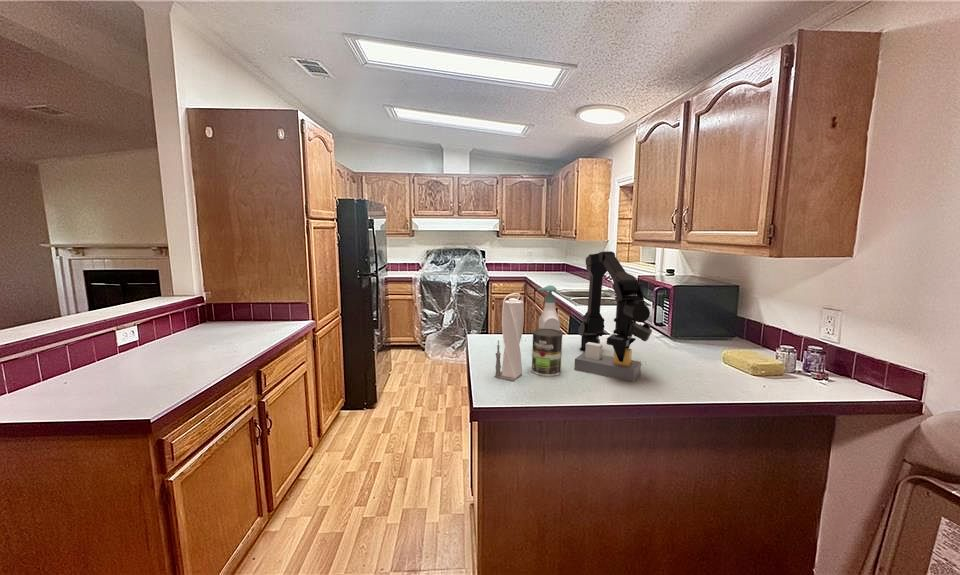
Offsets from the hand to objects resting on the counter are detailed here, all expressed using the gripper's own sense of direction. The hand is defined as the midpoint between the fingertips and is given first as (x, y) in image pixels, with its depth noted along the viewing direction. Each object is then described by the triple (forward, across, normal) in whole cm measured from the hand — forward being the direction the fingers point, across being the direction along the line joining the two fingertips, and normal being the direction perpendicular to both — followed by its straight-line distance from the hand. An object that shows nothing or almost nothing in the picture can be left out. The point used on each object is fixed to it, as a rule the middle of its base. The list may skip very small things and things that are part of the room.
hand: (622, 360), depth 134 cm
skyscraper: (+5, -23, +30) cm, 39 cm away
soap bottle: (+5, +7, +32) cm, 33 cm away
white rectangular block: (+5, 0, +10) cm, 11 cm away
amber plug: (+5, 0, 0) cm, 5 cm away
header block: (+5, 0, +5) cm, 7 cm away
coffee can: (+5, -12, +22) cm, 26 cm away
